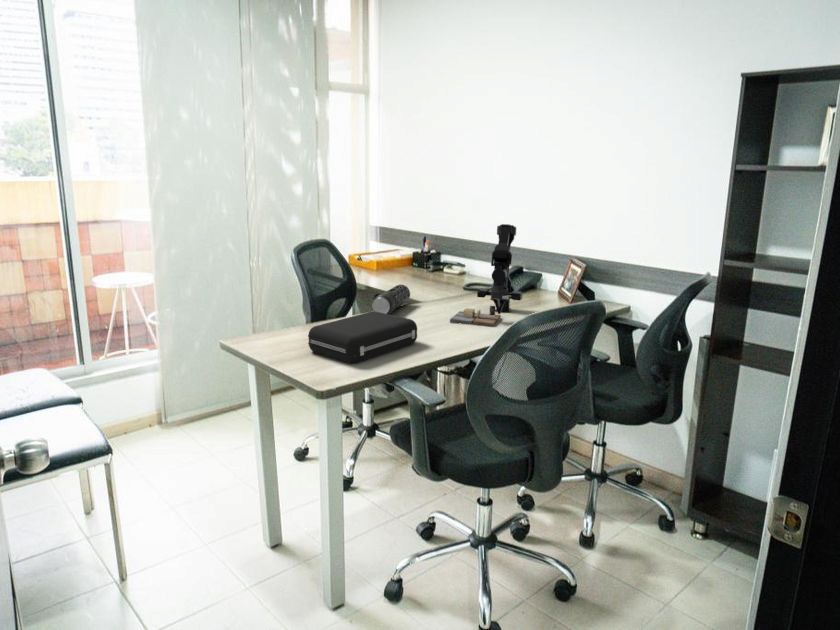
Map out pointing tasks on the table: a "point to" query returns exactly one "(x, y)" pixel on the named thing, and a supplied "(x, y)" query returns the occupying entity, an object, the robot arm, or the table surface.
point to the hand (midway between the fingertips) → (499, 313)
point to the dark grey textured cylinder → (391, 299)
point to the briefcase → (362, 336)
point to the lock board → (475, 320)
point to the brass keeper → (470, 313)
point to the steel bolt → (490, 315)
